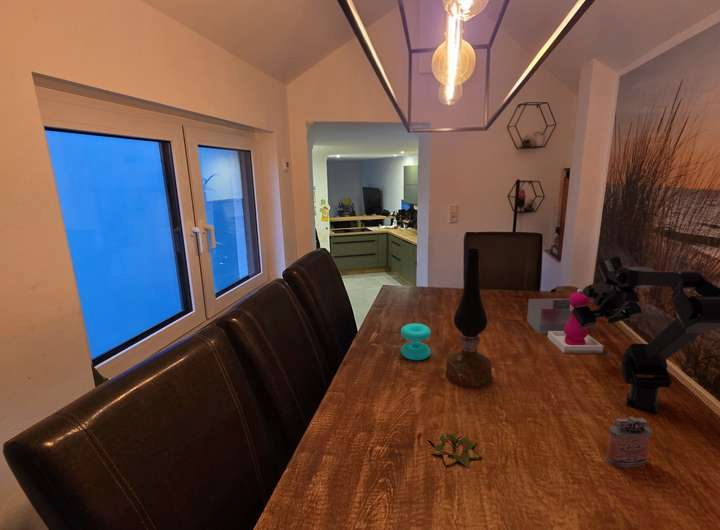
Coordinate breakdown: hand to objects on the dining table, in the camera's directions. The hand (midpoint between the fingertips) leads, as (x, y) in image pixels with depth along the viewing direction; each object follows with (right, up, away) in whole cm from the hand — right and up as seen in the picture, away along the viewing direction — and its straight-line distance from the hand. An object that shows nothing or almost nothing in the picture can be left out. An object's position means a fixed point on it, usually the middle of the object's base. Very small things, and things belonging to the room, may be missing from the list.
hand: (595, 325), depth 119 cm
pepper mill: (-1, -8, +11) cm, 14 cm away
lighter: (-20, -22, -41) cm, 51 cm away
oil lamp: (-43, -15, -6) cm, 46 cm away
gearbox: (+1, -5, +27) cm, 27 cm away
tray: (0, -9, +12) cm, 15 cm away
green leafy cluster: (-55, -22, -36) cm, 70 cm away
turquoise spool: (-57, -12, +8) cm, 59 cm away
